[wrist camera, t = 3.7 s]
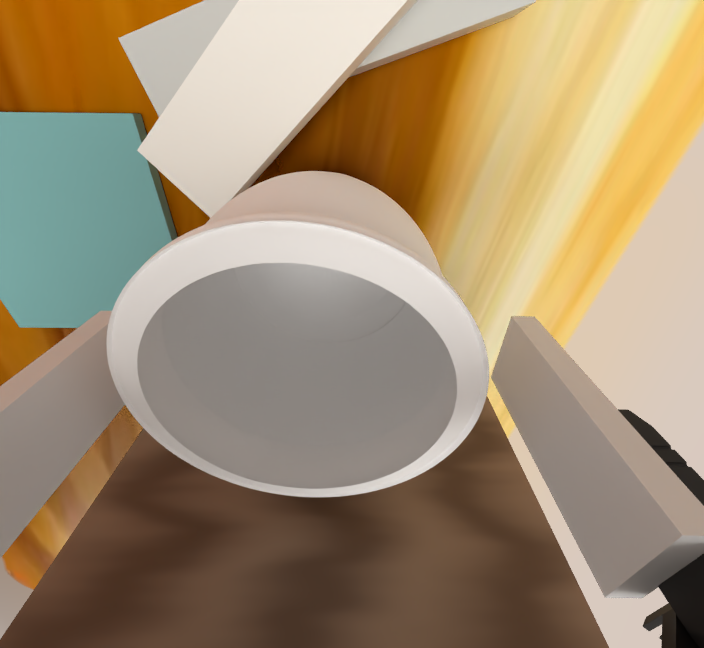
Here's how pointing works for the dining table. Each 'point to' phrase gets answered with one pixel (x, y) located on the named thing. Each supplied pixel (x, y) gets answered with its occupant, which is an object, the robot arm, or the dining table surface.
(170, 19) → the offcut low
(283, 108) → the offcut top
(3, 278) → the mat
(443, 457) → the jar
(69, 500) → the dining table surface
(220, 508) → the wood grain panel
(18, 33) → the dining table surface
